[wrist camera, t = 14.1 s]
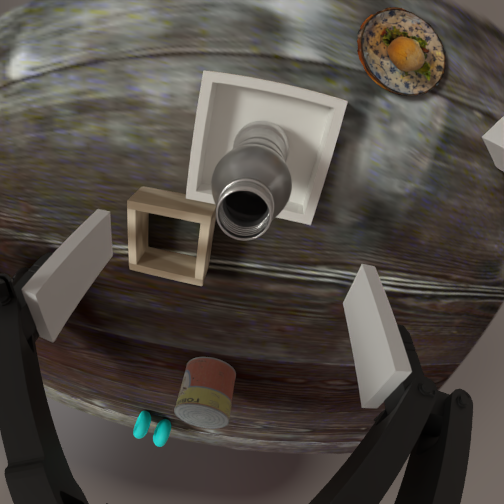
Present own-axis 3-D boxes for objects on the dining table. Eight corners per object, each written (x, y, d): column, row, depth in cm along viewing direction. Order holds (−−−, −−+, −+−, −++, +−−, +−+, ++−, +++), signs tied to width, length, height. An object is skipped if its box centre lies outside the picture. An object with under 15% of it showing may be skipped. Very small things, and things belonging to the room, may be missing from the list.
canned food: (194, 350, 60) (181, 398, 50) (244, 367, 62) (237, 416, 52) (181, 374, 66) (169, 417, 56) (225, 389, 68) (218, 432, 58)
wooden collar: (208, 266, 48) (201, 286, 44) (141, 251, 47) (129, 269, 43) (218, 200, 41) (211, 216, 37) (142, 186, 41) (127, 200, 37)
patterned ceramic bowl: (448, 88, 29) (478, 95, 23) (373, 103, 32) (393, 110, 26) (422, 6, 23) (449, -3, 17) (342, 16, 27) (356, 4, 20)
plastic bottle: (296, 127, 34) (312, 184, 17) (278, 176, 38) (274, 271, 21) (245, 110, 33) (207, 149, 17) (229, 160, 37) (184, 243, 20)
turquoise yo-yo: (145, 405, 79) (136, 432, 71) (174, 417, 81) (167, 444, 73) (138, 414, 84) (130, 439, 76) (165, 425, 86) (159, 450, 78)
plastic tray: (308, 211, 41) (310, 225, 38) (193, 186, 41) (185, 198, 37) (340, 98, 32) (347, 101, 29) (211, 70, 32) (203, 70, 28)
